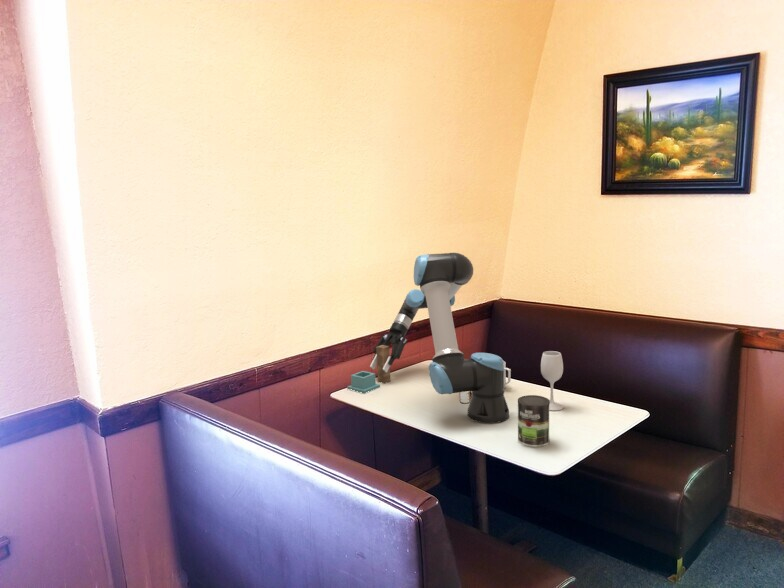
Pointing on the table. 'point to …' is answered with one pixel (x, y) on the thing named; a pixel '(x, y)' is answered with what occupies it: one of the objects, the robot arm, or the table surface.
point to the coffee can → (533, 420)
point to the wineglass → (552, 373)
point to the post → (382, 363)
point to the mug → (505, 374)
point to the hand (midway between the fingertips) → (378, 369)
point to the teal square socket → (363, 382)
